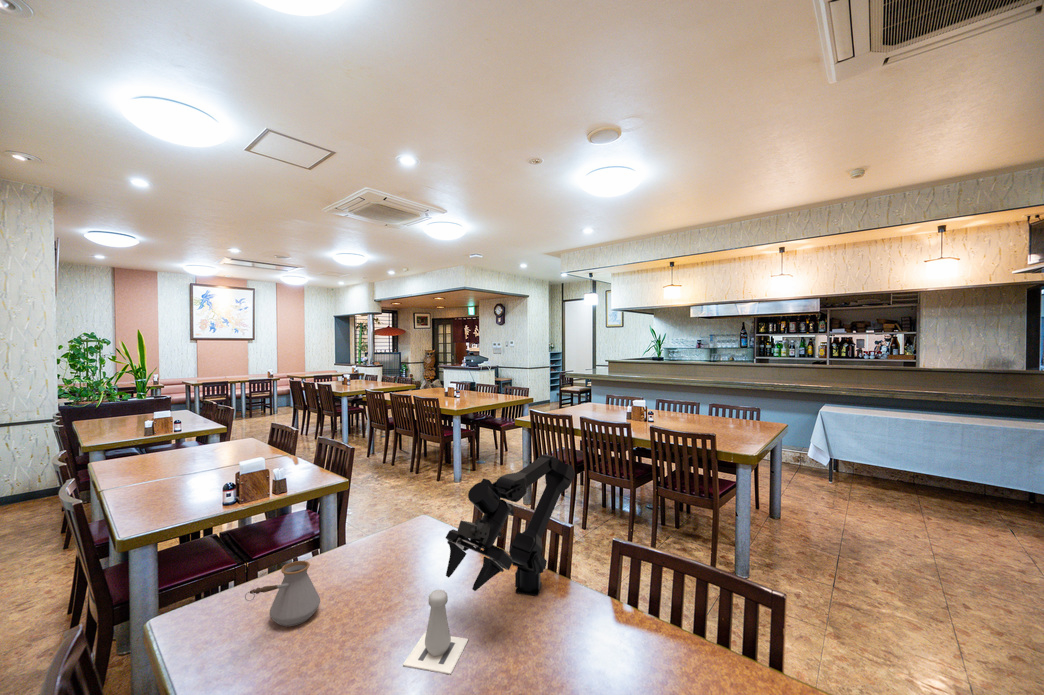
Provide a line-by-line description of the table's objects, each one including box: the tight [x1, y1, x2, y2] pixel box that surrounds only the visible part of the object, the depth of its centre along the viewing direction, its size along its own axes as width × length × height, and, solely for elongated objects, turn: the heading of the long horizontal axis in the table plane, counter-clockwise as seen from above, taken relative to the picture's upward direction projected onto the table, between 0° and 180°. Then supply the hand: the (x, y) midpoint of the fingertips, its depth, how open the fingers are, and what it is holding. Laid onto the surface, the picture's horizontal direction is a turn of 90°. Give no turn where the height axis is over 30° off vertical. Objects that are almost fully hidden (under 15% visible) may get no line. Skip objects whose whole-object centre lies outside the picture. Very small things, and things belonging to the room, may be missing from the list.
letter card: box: [402, 631, 469, 675], centre depth 98 cm, size 11×11×1 cm
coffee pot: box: [244, 560, 321, 627], centre depth 105 cm, size 21×12×15 cm, turn 171°
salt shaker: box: [425, 589, 452, 657], centre depth 98 cm, size 6×6×13 cm
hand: (460, 583), depth 103 cm, fingers open, 9 cm apart
